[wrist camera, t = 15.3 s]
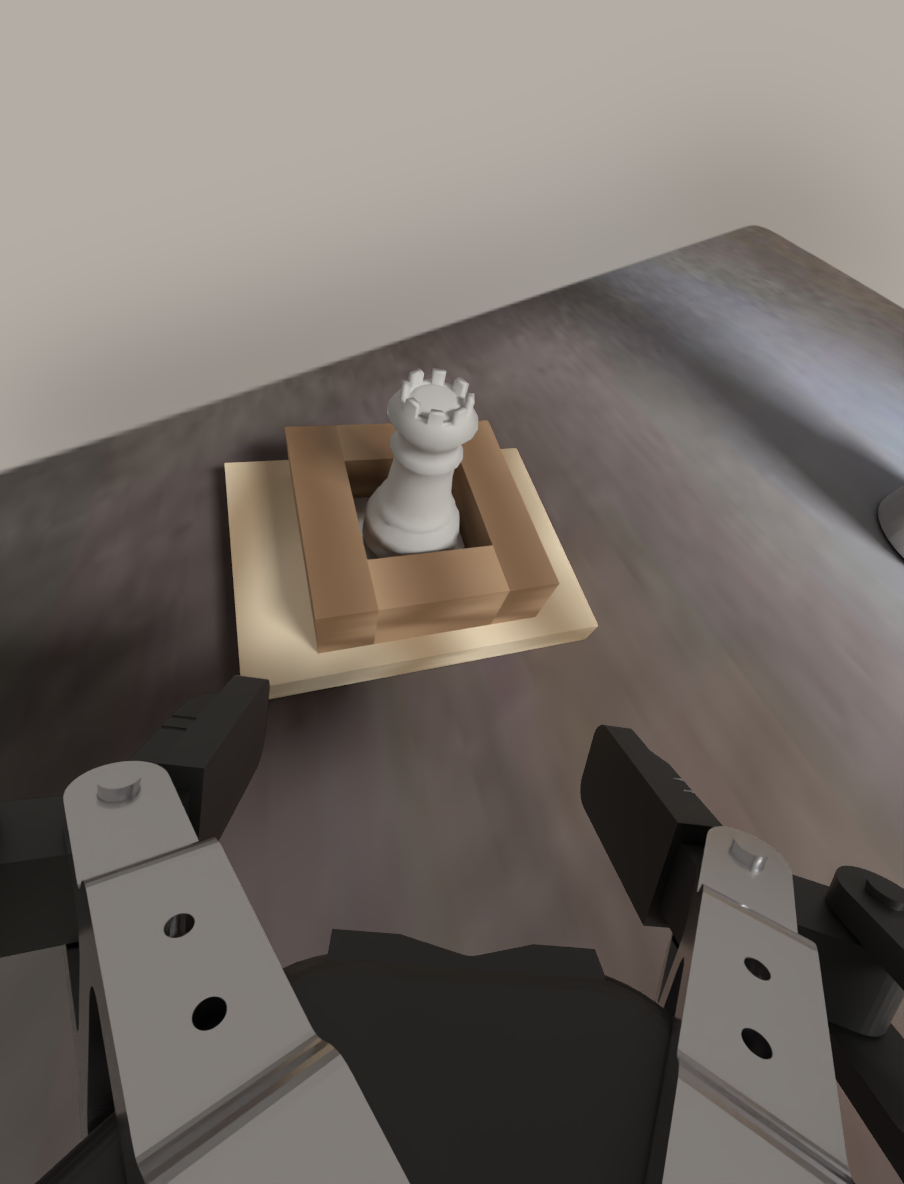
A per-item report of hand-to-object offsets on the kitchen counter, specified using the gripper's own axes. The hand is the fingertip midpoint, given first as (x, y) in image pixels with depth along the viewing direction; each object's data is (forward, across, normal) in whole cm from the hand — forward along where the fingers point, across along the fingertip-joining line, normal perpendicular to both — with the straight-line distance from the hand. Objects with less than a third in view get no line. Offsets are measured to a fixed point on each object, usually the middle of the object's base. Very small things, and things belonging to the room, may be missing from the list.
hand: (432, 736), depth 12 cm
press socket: (+14, +1, -2) cm, 14 cm away
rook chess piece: (+13, +1, -3) cm, 13 cm away
